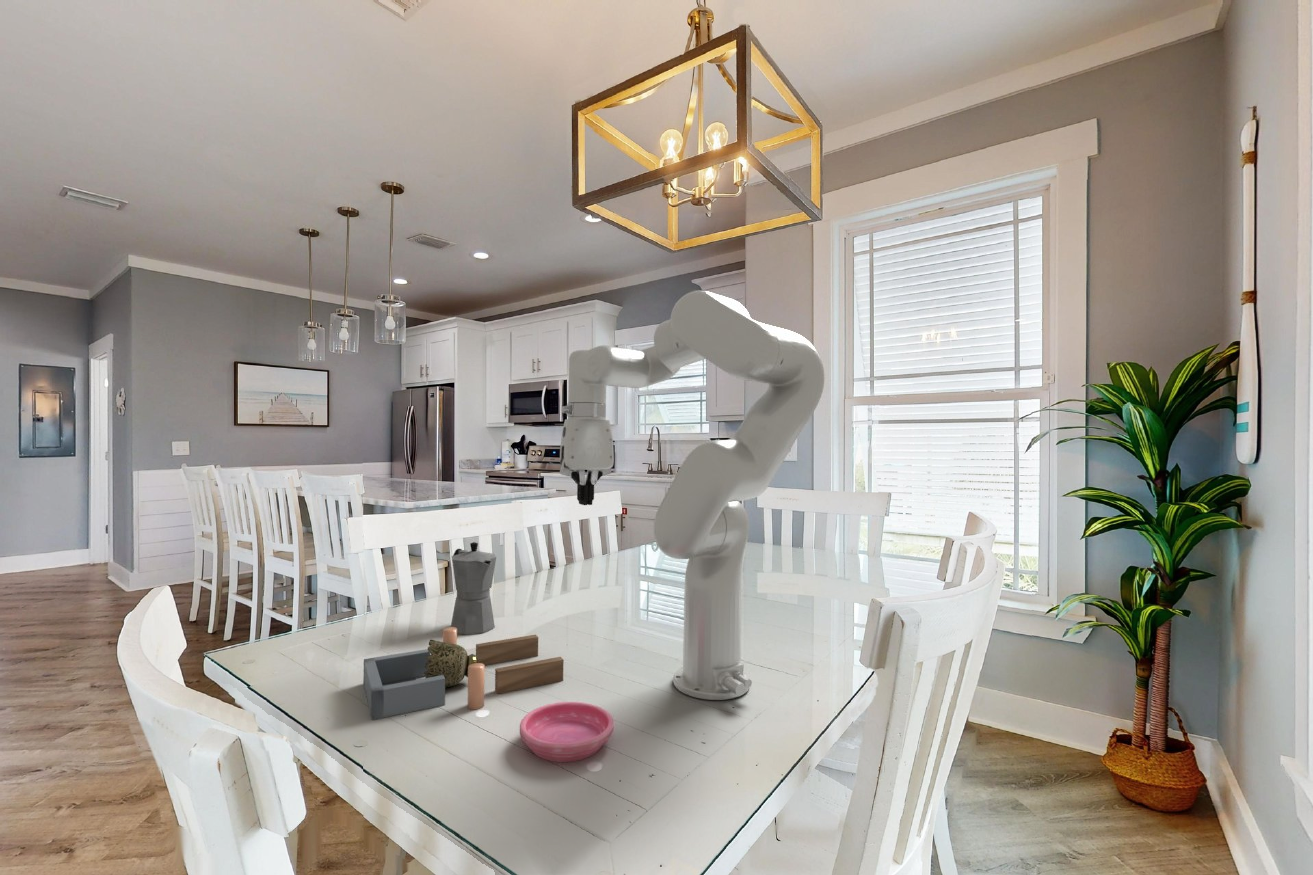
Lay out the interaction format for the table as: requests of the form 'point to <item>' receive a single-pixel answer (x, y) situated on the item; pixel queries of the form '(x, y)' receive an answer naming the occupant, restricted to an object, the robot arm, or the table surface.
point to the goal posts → (470, 674)
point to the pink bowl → (566, 730)
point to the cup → (448, 662)
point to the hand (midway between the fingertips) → (585, 504)
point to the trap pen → (401, 684)
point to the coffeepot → (473, 591)
